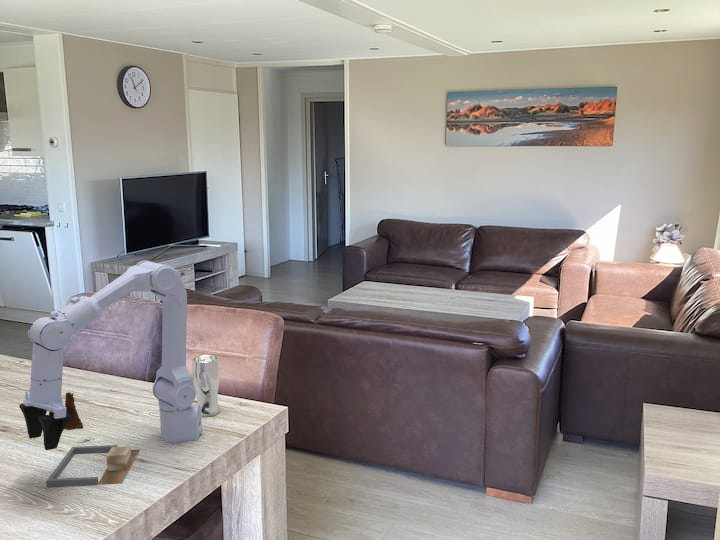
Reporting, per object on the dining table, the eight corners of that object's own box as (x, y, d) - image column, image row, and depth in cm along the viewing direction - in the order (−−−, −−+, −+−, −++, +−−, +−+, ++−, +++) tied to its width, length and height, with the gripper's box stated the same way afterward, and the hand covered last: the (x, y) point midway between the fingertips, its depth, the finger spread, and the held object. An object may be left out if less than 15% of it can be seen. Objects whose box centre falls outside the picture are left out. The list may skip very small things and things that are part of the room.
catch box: (118, 455, 146) (117, 444, 145) (97, 490, 131) (96, 478, 130) (73, 457, 145) (72, 446, 144) (47, 492, 130) (46, 481, 130)
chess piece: (67, 436, 155) (63, 398, 153) (59, 430, 159) (55, 392, 157) (86, 430, 158) (82, 392, 156) (78, 424, 162) (74, 387, 160)
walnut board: (140, 454, 146) (140, 449, 146) (122, 489, 131) (122, 483, 131) (118, 455, 146) (117, 450, 145) (97, 490, 131) (97, 484, 131)
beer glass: (224, 407, 172) (222, 354, 169) (216, 418, 165) (213, 363, 162) (199, 406, 173) (196, 353, 170) (190, 417, 166) (187, 362, 163)
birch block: (131, 461, 140) (130, 446, 140) (126, 470, 136) (125, 455, 136) (113, 461, 140) (111, 447, 139) (107, 471, 136) (106, 455, 135)
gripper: (11, 371, 129) (7, 436, 130) (41, 389, 120) (37, 458, 121) (46, 367, 135) (42, 429, 136) (78, 384, 125) (74, 450, 126)
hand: (42, 442), depth 129 cm, fingers open, 7 cm apart
